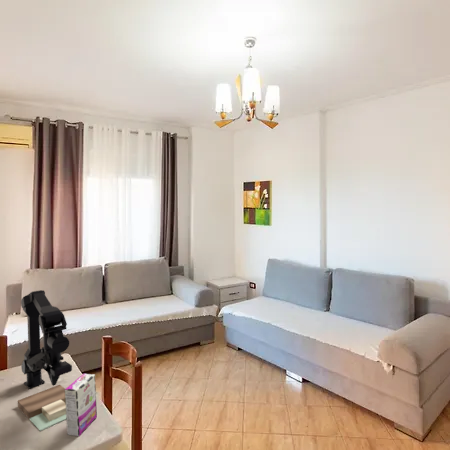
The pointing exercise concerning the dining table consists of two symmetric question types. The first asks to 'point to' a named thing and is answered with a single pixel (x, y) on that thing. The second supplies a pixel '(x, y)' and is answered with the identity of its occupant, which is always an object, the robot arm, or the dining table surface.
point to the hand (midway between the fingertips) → (53, 385)
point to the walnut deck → (41, 400)
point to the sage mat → (45, 421)
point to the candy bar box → (80, 404)
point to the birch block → (54, 410)
